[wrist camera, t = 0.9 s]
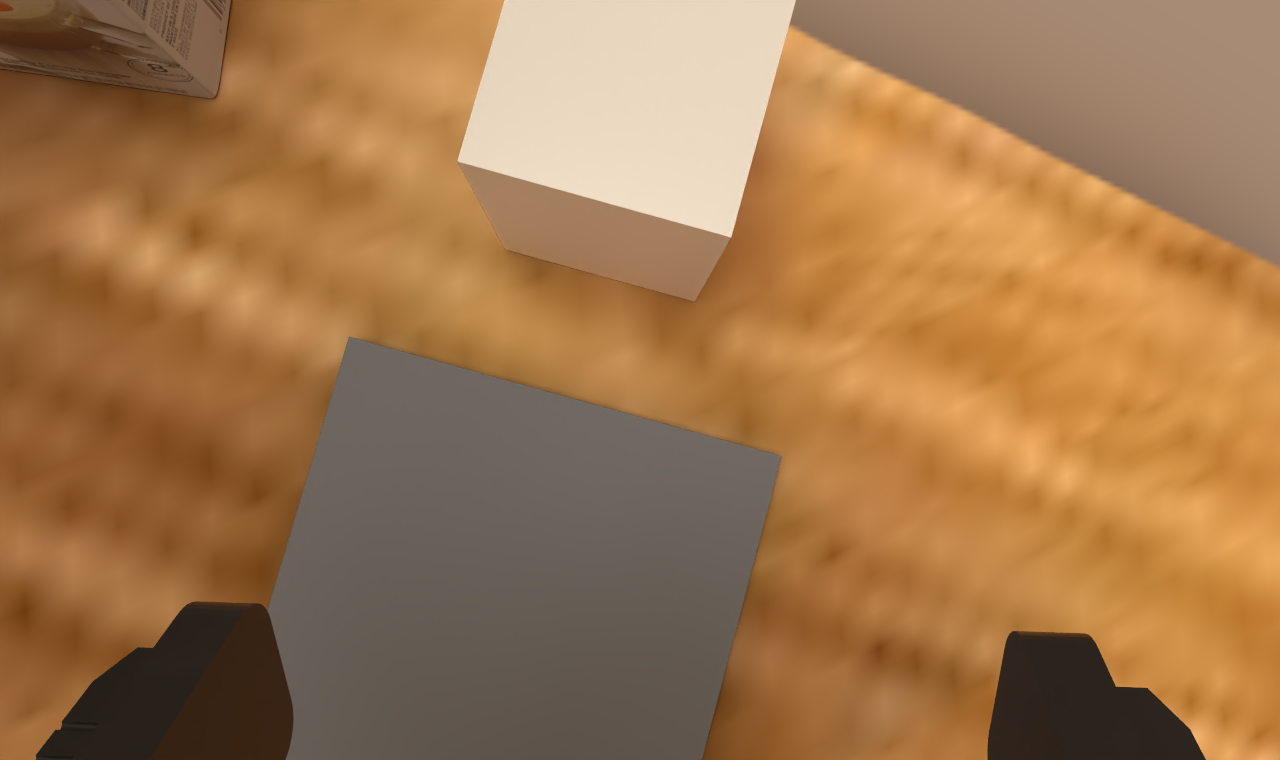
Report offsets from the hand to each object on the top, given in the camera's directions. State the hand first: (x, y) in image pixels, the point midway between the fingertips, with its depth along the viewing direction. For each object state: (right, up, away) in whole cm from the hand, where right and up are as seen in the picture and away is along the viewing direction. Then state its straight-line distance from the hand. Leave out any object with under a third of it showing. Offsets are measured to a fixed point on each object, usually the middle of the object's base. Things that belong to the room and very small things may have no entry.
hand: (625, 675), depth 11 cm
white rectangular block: (0, +10, +22) cm, 24 cm away
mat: (-4, -4, +21) cm, 22 cm away
